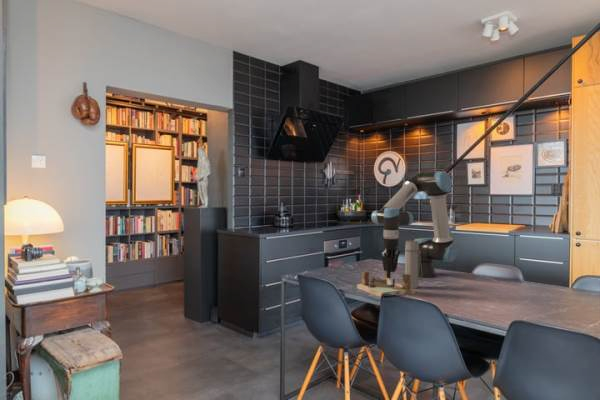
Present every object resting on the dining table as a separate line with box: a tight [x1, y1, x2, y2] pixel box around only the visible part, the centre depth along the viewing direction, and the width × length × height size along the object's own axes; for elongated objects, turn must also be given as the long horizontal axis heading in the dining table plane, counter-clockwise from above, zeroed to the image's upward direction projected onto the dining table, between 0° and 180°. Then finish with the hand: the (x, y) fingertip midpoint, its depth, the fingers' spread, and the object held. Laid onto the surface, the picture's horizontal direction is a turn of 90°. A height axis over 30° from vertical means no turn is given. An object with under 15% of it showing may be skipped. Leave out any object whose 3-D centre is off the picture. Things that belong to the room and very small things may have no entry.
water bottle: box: [404, 240, 423, 289], centre depth 210 cm, size 9×8×25 cm
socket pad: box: [371, 287, 399, 293], centre depth 196 cm, size 10×10×1 cm
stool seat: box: [356, 270, 416, 298], centre depth 203 cm, size 21×21×9 cm
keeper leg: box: [369, 276, 396, 287], centre depth 202 cm, size 3×13×4 cm, turn 76°
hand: (389, 284), depth 198 cm, fingers closed
